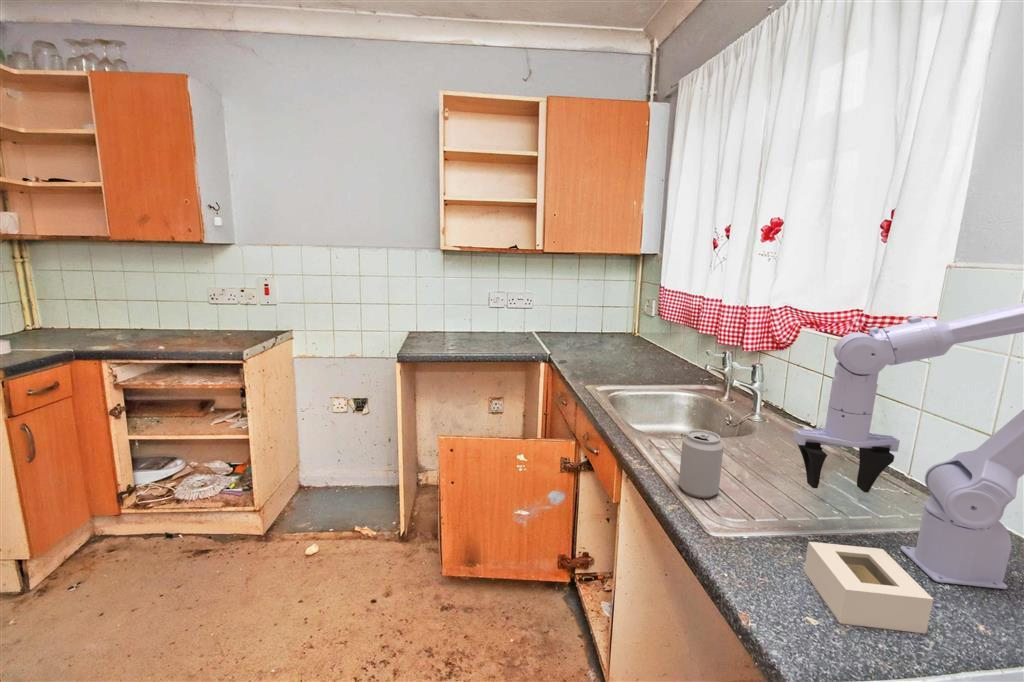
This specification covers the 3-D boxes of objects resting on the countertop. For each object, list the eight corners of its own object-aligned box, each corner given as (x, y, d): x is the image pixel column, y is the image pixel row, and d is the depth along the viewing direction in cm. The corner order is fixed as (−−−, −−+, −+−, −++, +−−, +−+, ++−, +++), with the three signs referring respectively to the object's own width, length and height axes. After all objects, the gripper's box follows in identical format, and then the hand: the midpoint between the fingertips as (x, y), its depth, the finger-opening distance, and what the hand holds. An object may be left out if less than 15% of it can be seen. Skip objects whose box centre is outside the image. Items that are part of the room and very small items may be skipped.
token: (859, 590, 66) (863, 565, 65) (877, 611, 62) (882, 585, 61) (840, 588, 66) (844, 563, 65) (857, 609, 62) (862, 583, 62)
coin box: (876, 579, 68) (882, 548, 67) (925, 633, 58) (933, 599, 57) (803, 571, 70) (808, 541, 69) (839, 623, 60) (845, 589, 59)
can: (671, 489, 93) (676, 433, 91) (688, 477, 98) (693, 424, 96) (708, 504, 88) (715, 445, 85) (724, 491, 93) (730, 434, 90)
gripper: (884, 403, 76) (870, 479, 79) (790, 398, 78) (779, 472, 81) (914, 418, 69) (898, 501, 72) (810, 412, 71) (798, 492, 74)
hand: (837, 487), depth 76 cm, fingers open, 7 cm apart
